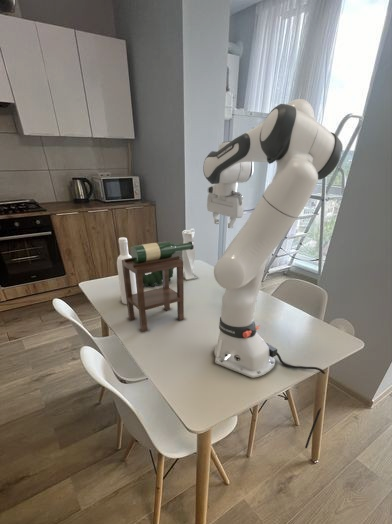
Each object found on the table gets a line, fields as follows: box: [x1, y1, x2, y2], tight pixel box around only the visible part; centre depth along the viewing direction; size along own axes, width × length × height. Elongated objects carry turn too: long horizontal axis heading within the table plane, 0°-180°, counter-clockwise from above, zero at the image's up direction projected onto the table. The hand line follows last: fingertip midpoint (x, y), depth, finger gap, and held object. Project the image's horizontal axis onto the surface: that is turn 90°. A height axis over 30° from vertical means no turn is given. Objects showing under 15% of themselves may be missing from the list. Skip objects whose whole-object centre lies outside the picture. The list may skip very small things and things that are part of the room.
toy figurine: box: [142, 268, 175, 288], centre depth 161 cm, size 9×19×25 cm
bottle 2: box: [130, 240, 195, 264], centre depth 118 cm, size 6×26×6 cm, turn 125°
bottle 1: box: [116, 236, 137, 305], centre depth 138 cm, size 8×8×30 cm
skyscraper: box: [181, 228, 198, 281], centre depth 167 cm, size 8×8×28 cm
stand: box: [122, 255, 185, 333], centre depth 124 cm, size 14×20×27 cm
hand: (223, 225), depth 129 cm, fingers open, 8 cm apart
